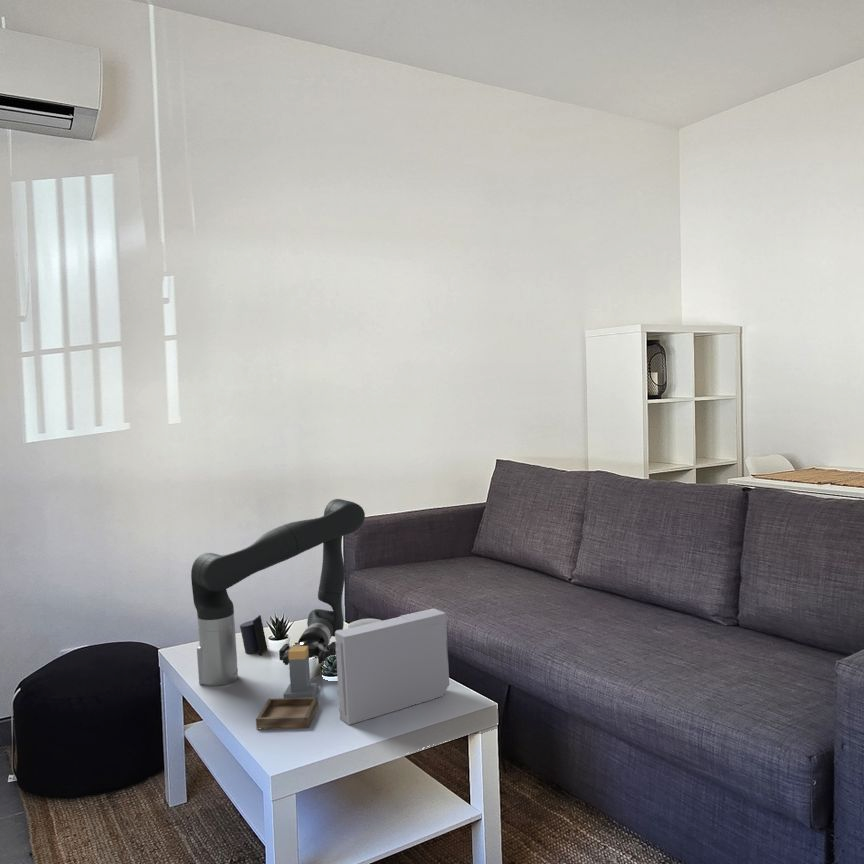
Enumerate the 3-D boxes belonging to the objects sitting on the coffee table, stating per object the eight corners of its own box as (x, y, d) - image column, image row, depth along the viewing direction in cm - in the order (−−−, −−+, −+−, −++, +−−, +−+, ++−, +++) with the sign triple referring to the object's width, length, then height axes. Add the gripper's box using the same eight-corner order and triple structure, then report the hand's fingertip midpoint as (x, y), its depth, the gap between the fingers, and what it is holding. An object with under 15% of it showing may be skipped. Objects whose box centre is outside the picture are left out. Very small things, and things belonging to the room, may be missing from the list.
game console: (336, 717, 179) (331, 631, 178) (436, 687, 194) (432, 608, 193) (348, 725, 175) (343, 637, 174) (449, 694, 189) (445, 612, 188)
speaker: (274, 648, 230) (267, 614, 230) (261, 655, 225) (254, 620, 225) (254, 648, 234) (248, 614, 234) (241, 655, 229) (234, 620, 229)
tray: (256, 729, 175) (255, 719, 175) (269, 708, 187) (268, 698, 186) (308, 727, 174) (307, 717, 174) (318, 706, 186) (317, 697, 186)
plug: (283, 700, 191) (280, 653, 191) (290, 689, 198) (287, 644, 198) (312, 699, 191) (309, 652, 190) (317, 688, 198) (315, 643, 197)
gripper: (288, 627, 214) (273, 647, 198) (340, 625, 214) (330, 644, 198) (289, 654, 215) (275, 676, 198) (341, 652, 214) (331, 674, 198)
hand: (302, 660), depth 198 cm, fingers open, 8 cm apart
